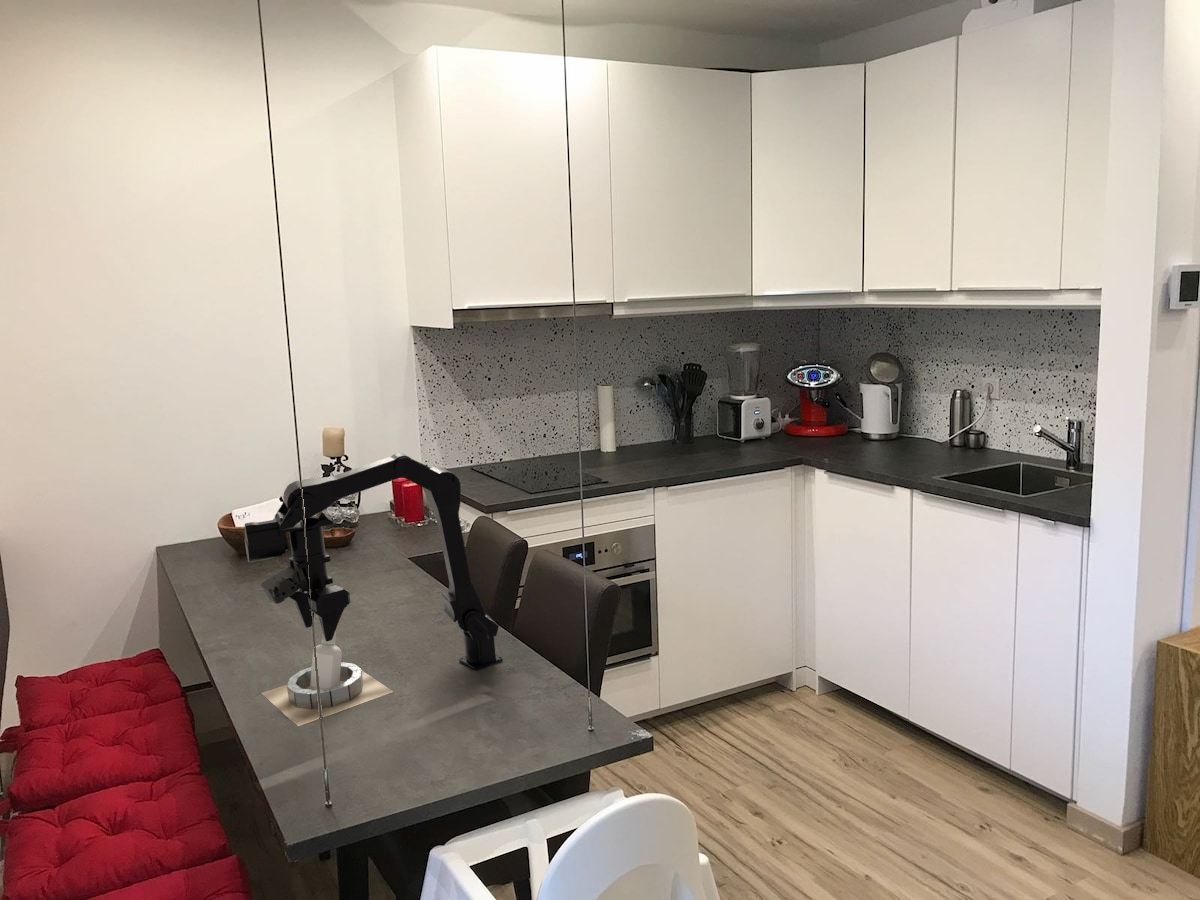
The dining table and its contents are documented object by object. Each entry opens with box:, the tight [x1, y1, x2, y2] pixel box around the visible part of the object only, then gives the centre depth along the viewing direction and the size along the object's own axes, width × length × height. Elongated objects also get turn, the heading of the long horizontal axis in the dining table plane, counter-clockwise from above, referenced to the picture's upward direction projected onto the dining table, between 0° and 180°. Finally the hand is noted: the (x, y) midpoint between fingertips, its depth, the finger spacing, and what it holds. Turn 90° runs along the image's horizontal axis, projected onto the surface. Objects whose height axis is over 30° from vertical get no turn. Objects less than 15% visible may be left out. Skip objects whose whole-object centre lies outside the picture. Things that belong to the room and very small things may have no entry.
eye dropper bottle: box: [310, 631, 343, 690], centre depth 174 cm, size 4×6×12 cm
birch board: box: [261, 670, 394, 727], centre depth 174 cm, size 18×18×1 cm
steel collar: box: [286, 661, 363, 710], centre depth 173 cm, size 13×13×3 cm
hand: (318, 633), depth 171 cm, fingers open, 9 cm apart
